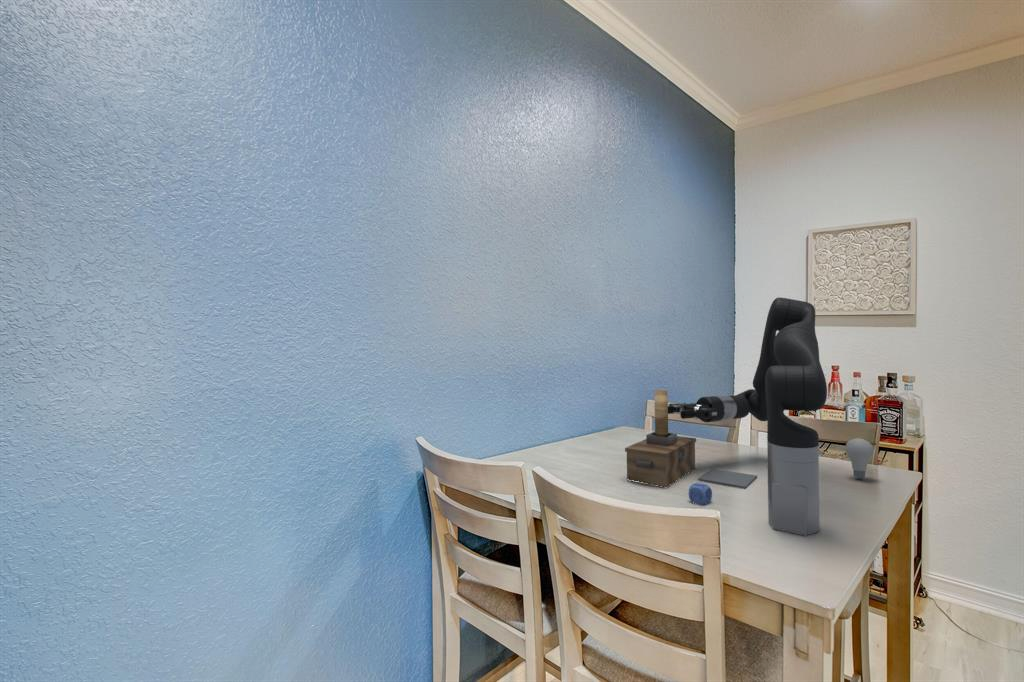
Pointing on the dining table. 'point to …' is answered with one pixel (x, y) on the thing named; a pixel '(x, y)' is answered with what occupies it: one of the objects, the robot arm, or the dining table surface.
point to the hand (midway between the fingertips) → (671, 412)
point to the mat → (728, 478)
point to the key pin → (661, 412)
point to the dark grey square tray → (661, 439)
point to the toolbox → (660, 461)
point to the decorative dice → (700, 493)
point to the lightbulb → (859, 455)
